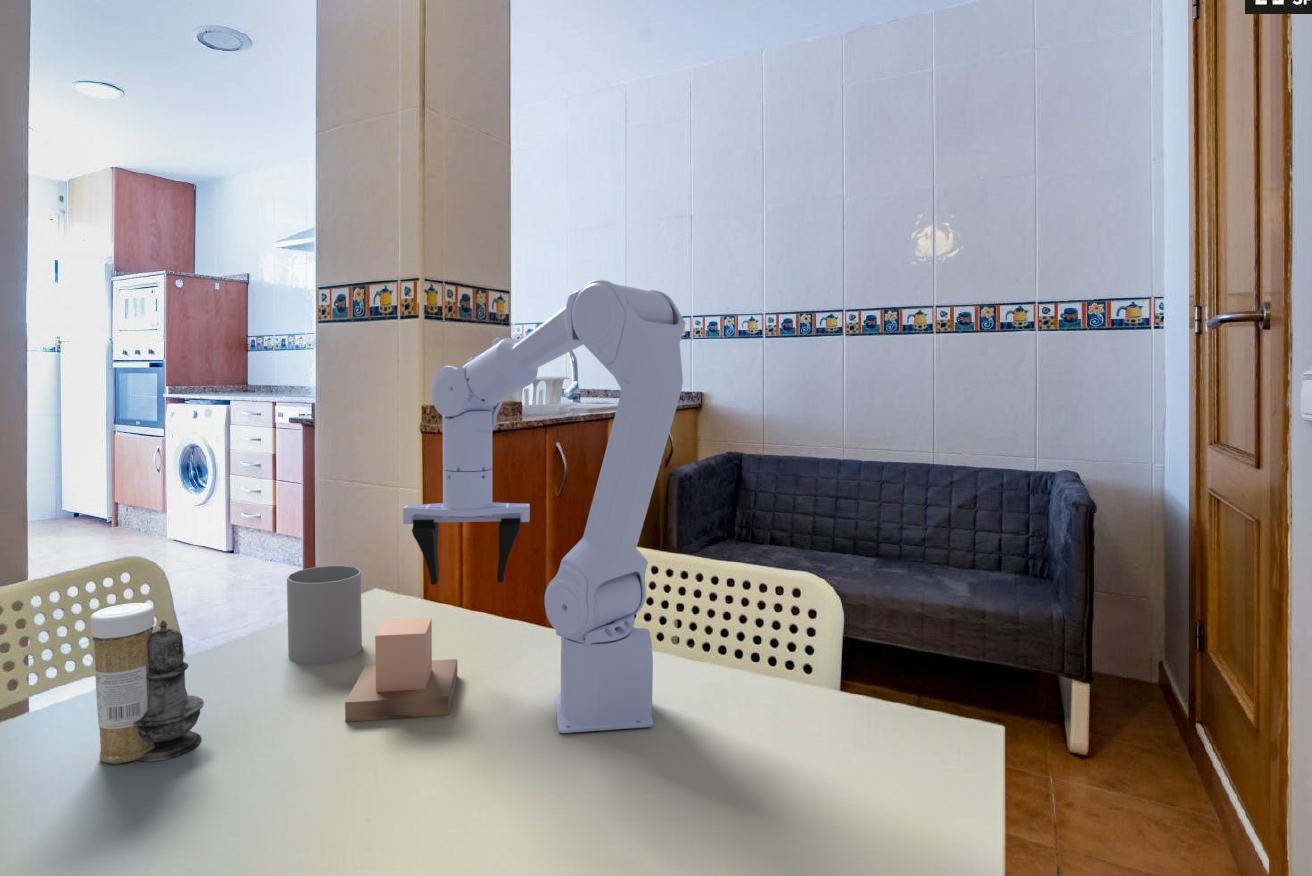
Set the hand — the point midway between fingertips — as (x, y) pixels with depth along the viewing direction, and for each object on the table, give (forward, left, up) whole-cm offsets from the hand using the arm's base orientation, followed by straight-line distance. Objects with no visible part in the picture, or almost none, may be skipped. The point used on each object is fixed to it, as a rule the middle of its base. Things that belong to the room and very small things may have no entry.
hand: (468, 581), depth 85 cm
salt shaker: (+26, +16, -11) cm, 32 cm away
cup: (+18, -7, -11) cm, 22 cm away
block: (+6, +8, -8) cm, 13 cm away
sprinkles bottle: (+29, +16, -11) cm, 35 cm away
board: (+6, +8, -10) cm, 14 cm away
